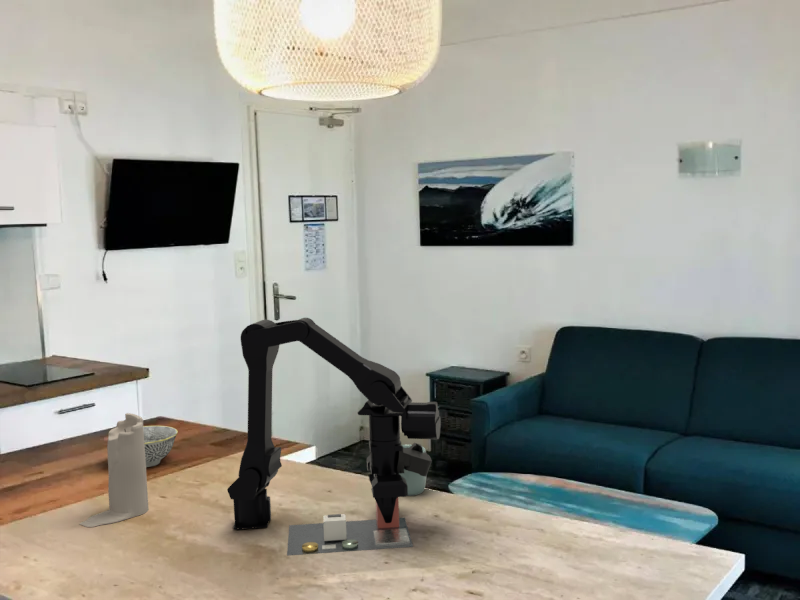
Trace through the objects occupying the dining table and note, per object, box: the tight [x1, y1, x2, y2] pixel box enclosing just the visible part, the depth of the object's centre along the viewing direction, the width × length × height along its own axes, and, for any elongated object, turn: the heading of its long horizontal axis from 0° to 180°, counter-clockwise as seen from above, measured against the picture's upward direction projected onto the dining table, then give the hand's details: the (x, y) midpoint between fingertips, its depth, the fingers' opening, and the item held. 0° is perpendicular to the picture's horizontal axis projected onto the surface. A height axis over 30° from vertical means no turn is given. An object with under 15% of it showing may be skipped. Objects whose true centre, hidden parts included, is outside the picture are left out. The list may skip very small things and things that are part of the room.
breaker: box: [322, 513, 347, 541], centre depth 150 cm, size 4×3×4 cm
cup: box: [399, 444, 427, 497], centre depth 175 cm, size 8×8×10 cm
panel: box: [286, 517, 414, 557], centre depth 152 cm, size 22×14×2 cm, turn 96°
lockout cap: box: [375, 497, 400, 528], centre depth 157 cm, size 4×4×6 cm
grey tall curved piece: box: [79, 412, 149, 528], centre depth 167 cm, size 7×14×20 cm, turn 137°
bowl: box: [143, 425, 178, 468], centre depth 204 cm, size 16×16×8 cm
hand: (387, 518), depth 157 cm, fingers closed on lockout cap, 4 cm apart
